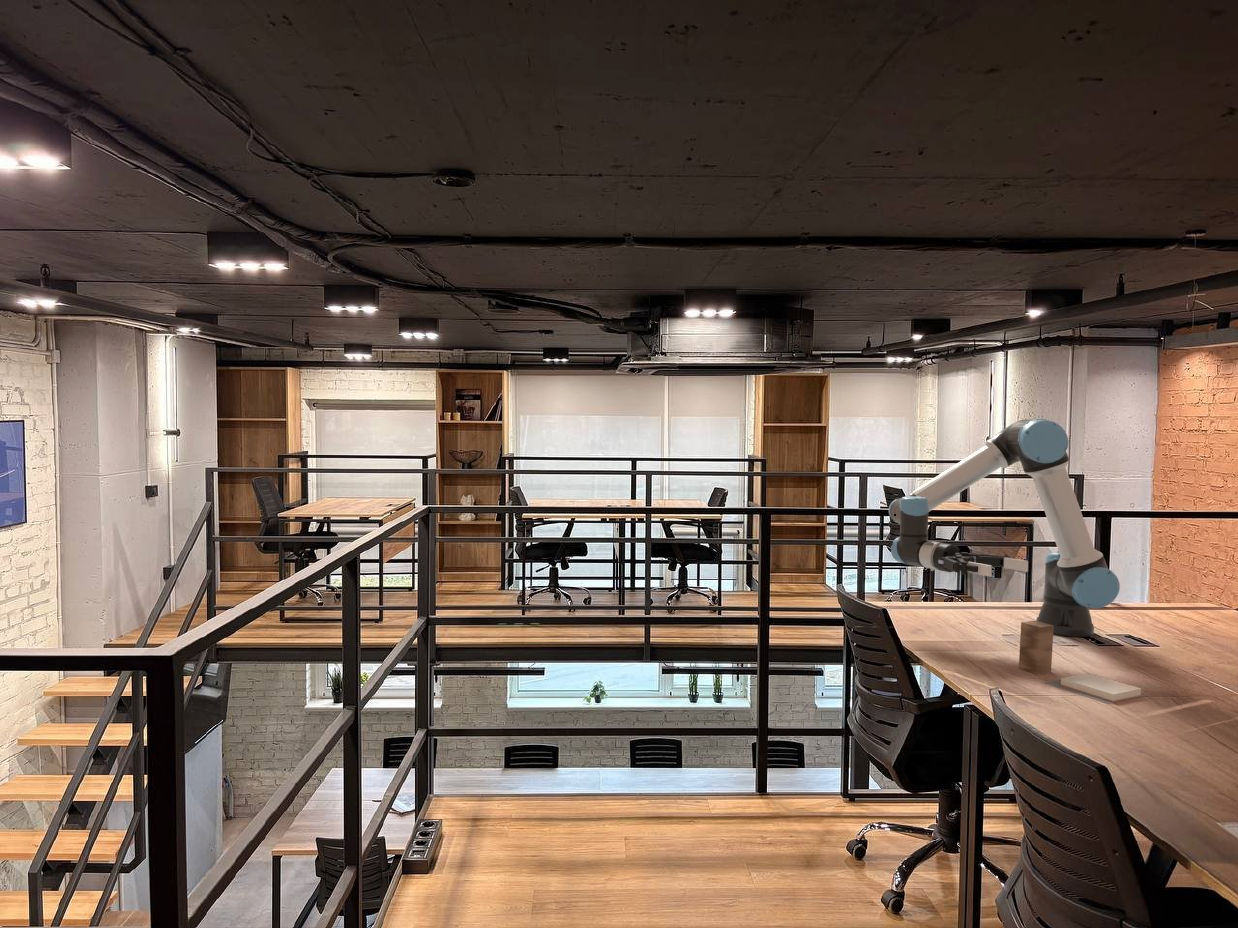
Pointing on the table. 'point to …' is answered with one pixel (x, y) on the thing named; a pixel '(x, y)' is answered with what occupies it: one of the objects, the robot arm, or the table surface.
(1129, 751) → the table surface
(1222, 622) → the table surface
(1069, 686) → the tile
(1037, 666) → the walnut block
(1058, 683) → the slate mat
